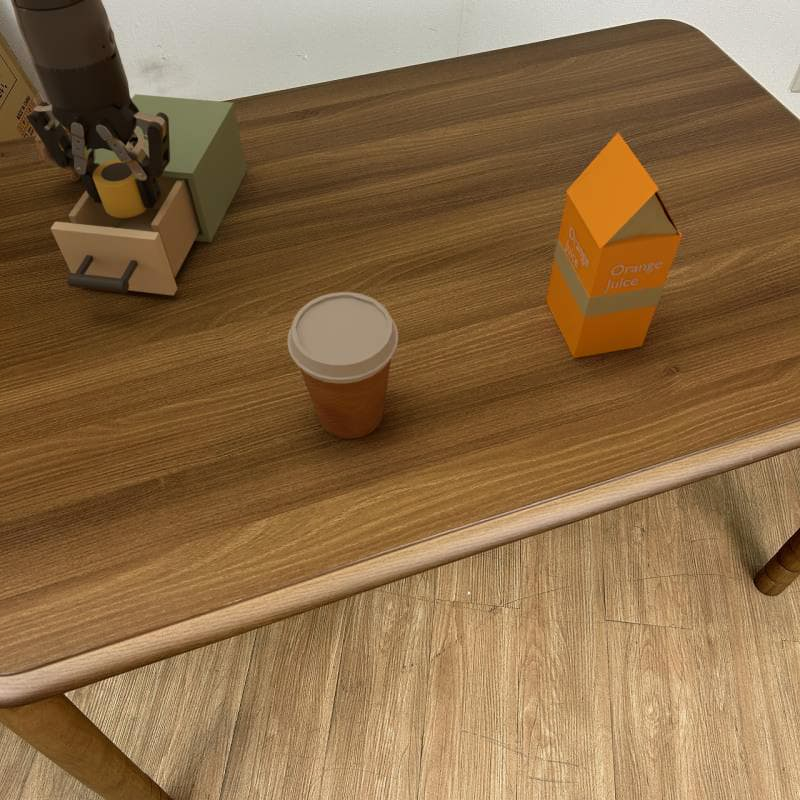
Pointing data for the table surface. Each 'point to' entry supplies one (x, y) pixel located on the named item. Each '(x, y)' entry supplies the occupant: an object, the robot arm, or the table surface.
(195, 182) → the cabinet
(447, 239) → the table surface
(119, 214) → the tape
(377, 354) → the disposable coffee cup
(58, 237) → the drawer
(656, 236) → the orange juice
